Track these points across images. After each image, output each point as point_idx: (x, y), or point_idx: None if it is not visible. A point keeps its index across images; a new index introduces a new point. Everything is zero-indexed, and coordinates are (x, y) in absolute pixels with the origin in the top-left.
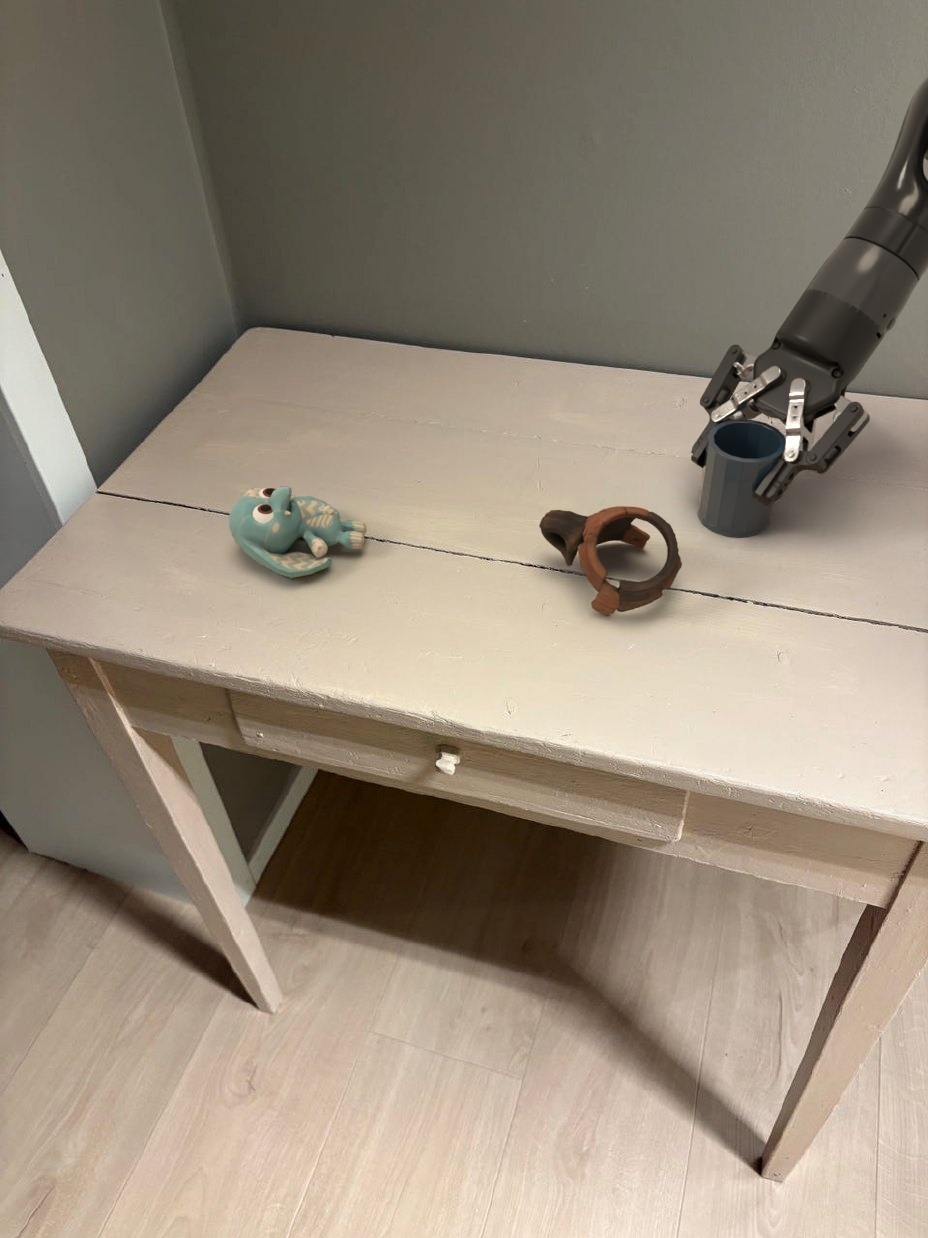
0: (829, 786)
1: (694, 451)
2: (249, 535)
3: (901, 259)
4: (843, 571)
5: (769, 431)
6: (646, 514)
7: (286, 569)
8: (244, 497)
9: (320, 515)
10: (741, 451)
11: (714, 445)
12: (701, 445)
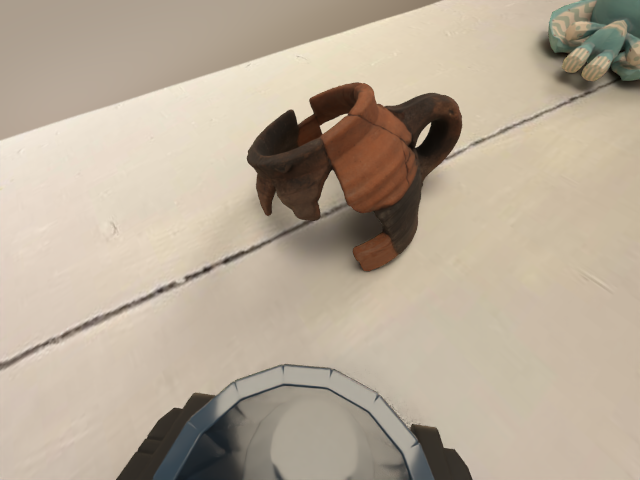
0: (29, 138)
1: (448, 455)
2: None
3: None
4: (60, 460)
5: None
6: (321, 135)
7: (558, 12)
8: None
9: (625, 24)
10: None
11: (359, 396)
12: (439, 465)
